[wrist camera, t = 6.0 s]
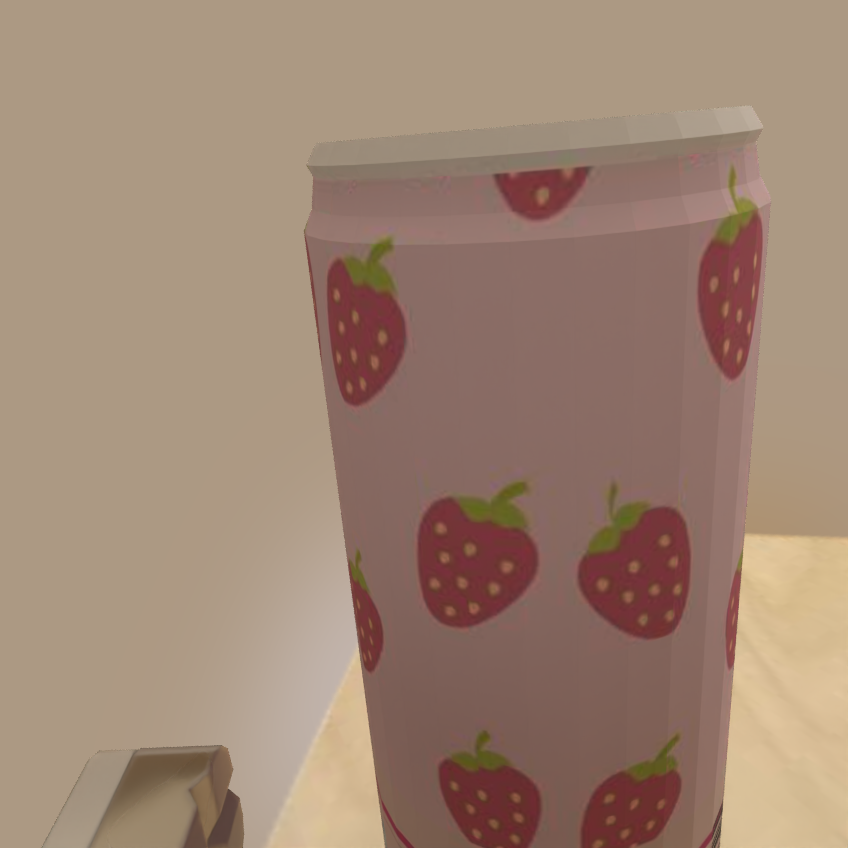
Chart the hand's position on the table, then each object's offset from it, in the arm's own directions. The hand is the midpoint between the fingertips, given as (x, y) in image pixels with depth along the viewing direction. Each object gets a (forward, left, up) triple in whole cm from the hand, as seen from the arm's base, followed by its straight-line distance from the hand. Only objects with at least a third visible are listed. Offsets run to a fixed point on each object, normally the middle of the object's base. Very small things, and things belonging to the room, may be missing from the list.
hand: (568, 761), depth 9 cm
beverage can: (+1, +3, -8) cm, 9 cm away
